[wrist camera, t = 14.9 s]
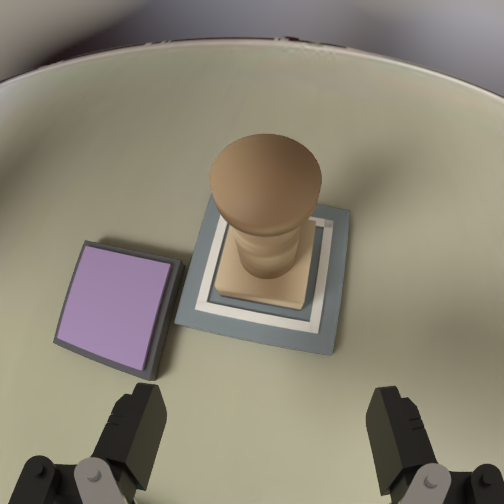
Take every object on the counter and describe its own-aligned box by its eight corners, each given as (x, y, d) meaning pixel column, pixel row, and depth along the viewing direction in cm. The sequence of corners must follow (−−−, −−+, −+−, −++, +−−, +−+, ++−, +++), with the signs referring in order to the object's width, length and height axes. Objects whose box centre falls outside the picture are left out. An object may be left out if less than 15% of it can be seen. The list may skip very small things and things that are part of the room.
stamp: (220, 296, 20) (178, 225, 10) (238, 225, 21) (216, 119, 12) (299, 311, 19) (328, 250, 10) (311, 238, 21) (338, 135, 12)
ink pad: (62, 345, 19) (50, 342, 18) (92, 246, 22) (83, 238, 21) (155, 380, 18) (147, 380, 17) (185, 266, 21) (179, 258, 20)
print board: (176, 324, 20) (173, 322, 19) (214, 192, 23) (212, 186, 23) (330, 355, 19) (333, 354, 18) (348, 214, 22) (350, 209, 21)
